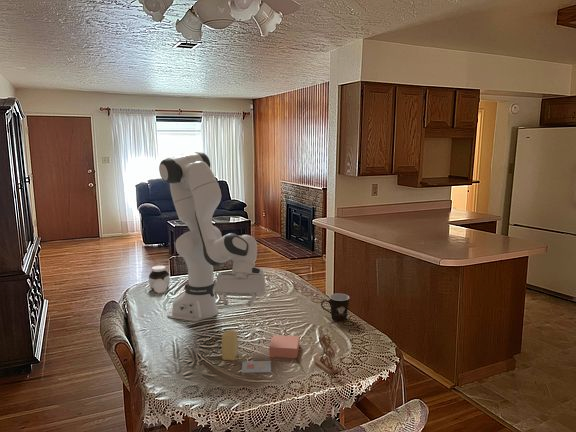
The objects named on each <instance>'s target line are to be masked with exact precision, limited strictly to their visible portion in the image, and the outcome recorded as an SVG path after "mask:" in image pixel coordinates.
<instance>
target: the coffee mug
mask: <svg viewBox="0 0 576 432" xmlns="http://www.w3.org/2000/svg"><path fill="white" fill-rule="evenodd" d="M325 302H327V303H328V304H329V306H330V310H328V309H327V308H325V307H324V306H323V304H324V303H325ZM349 302H350V296H349V295H348V294H345V293H332V294H330V295H329V300H328V299H325V300H323V301H321V303H320V306H321V308H322V309H323V310H324V311H326V312H328V313H329V314H330V315H331V320H332V321H333V322H336V323H337V322H338V323H339V322H341V323H342V322H345V321H347V317H348V310H349V304H350V303H349Z"/></svg>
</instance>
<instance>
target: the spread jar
mask: <svg viewBox="0 0 576 432" xmlns="http://www.w3.org/2000/svg"><path fill="white" fill-rule="evenodd" d="M170 279H171V278H170V273H169V272H168V271H167V270H166V266H165V265H156V266H152V267H151V272H150V273H149V276H148V283H149V288H151V290H153V291H154V292H155V293H158V294H162V293H165V292H166V291H167V289H168V287H169V286H170V281H171V280H170Z"/></svg>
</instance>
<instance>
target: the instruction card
mask: <svg viewBox="0 0 576 432" xmlns="http://www.w3.org/2000/svg"><path fill="white" fill-rule="evenodd" d="M241 364H242V365H241V371H240V373H241V374H245V373H246V374H247V373H249V374H252V373H253V374H255V373H271V372H272V360H261V361H260V360H259V361H258V360H257V361H255V360H253V361H252V360H251V361H250V360H249V361H242V363H241Z"/></svg>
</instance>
